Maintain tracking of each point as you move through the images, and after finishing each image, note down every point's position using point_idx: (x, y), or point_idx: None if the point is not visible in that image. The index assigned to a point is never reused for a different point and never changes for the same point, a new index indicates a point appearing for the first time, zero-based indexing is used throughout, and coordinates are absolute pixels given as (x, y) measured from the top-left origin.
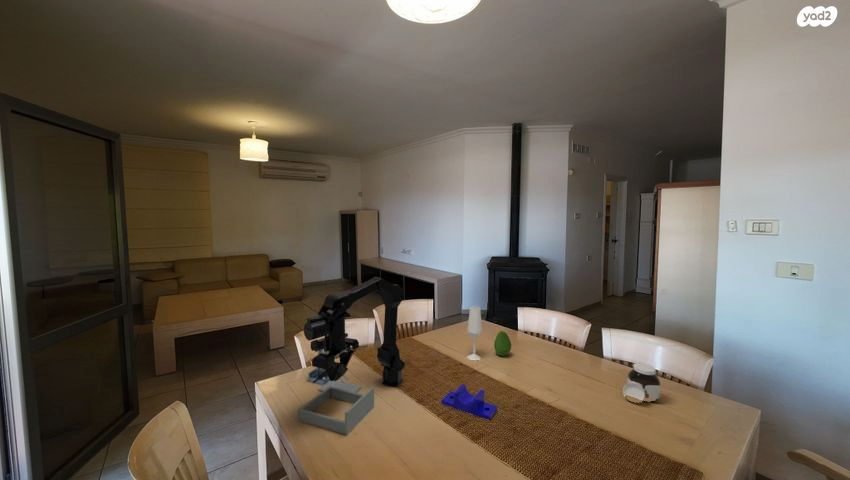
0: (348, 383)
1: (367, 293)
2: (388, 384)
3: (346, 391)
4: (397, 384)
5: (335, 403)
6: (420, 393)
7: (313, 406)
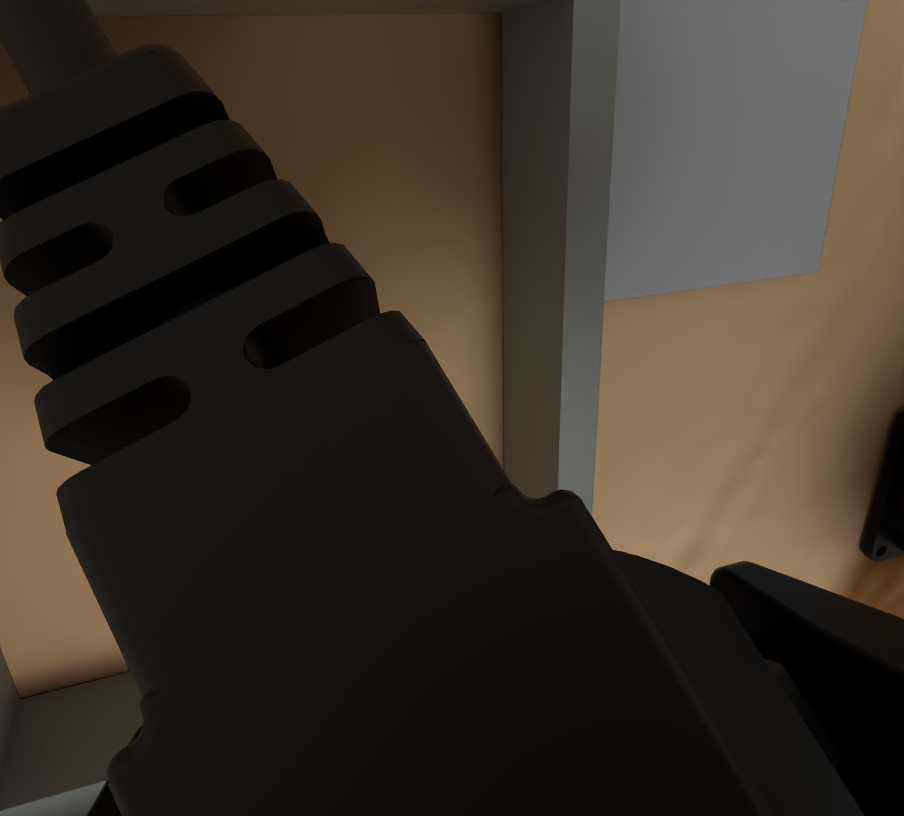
0: (855, 54)
1: None
2: (888, 490)
3: (577, 341)
4: (897, 553)
5: (409, 208)
6: None
7: None
